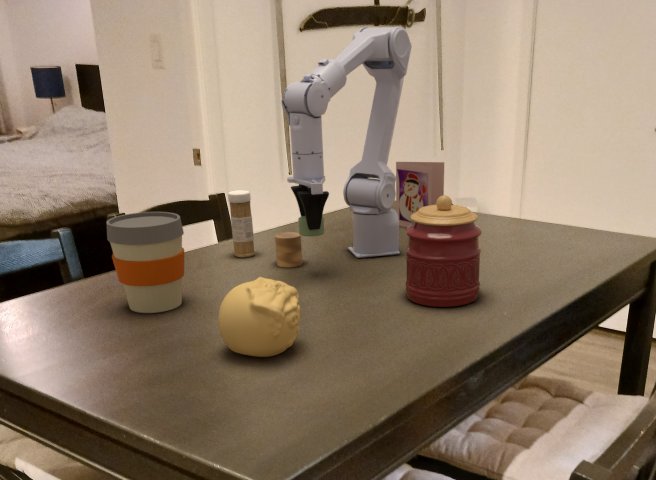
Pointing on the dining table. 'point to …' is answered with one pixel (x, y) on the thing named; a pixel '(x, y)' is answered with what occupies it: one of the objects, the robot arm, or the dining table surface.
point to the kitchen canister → (443, 255)
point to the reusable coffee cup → (148, 259)
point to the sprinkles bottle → (241, 223)
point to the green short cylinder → (305, 231)
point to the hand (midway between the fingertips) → (311, 226)
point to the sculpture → (260, 317)
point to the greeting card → (417, 187)
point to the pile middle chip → (288, 242)
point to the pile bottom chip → (289, 259)
